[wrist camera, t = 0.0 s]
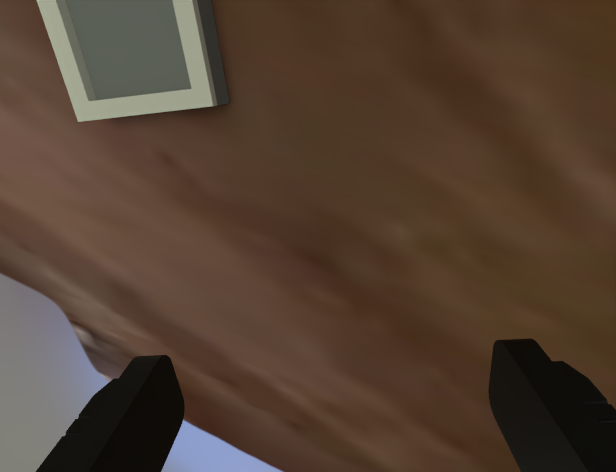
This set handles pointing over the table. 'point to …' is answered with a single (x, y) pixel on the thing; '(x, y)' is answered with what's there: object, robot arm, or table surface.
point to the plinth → (136, 55)
